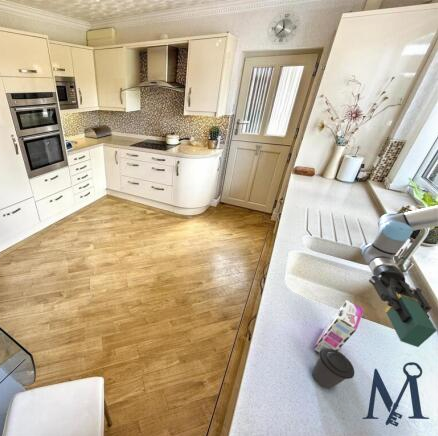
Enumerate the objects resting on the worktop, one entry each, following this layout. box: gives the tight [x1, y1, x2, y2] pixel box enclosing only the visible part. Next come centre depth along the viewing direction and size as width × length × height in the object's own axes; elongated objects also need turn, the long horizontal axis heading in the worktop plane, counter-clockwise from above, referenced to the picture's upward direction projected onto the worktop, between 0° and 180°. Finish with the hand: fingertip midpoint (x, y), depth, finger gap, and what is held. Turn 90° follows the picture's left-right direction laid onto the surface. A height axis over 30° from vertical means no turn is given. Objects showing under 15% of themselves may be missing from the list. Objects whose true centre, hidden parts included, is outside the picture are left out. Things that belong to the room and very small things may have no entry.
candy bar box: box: [312, 299, 365, 355], centre depth 74 cm, size 11×5×16 cm, turn 131°
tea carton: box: [384, 294, 438, 348], centre depth 71 cm, size 12×4×8 cm, turn 155°
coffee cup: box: [311, 348, 355, 390], centre depth 66 cm, size 8×8×10 cm
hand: (417, 322), depth 68 cm, fingers closed on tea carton, 4 cm apart
